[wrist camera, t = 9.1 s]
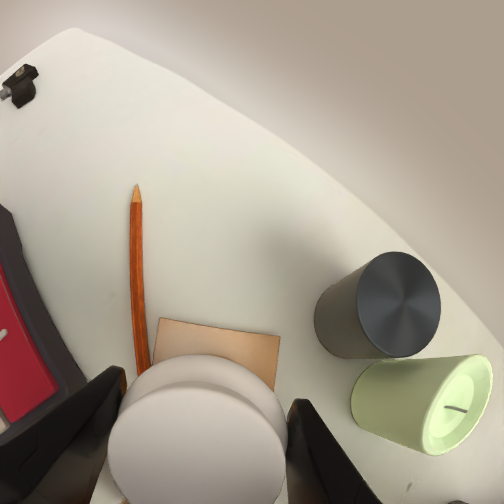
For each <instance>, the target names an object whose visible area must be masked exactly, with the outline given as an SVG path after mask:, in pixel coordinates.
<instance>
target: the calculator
mask: <svg viewBox="0 0 504 504" xmlns="http://www.w3.org/2000/svg"><path fill="white" fill-rule="evenodd" d="M21 251H22V245H21V242H20V239H19V236H18V233H17V230H16V227H15V224H14V221H13V218H12V215H11V213H10V212H9V211H8V210H7V209H6V208H4V207H3V206H2V205H1V204H0V446H1V445H2V444H4V443H6V442H8V441H9V440H11V439H13V438H14V437H16V436H18V435H19V434H21V433H22V432H23V431H25V430H26V429H28V428H29V427H30V426H32V425H33V424H34V423H37V421H38V420H40V419H41V418H42V417H44V416H45V415H46V414H48V413H49V412H50V411H52V410H53V409H54V408H56V407H57V406H58V405H60V404H61V403H62V402H64V401H65V400H66V399H68V398H69V397H70V396H72V395H73V394H74V393H76V392H77V391H78V390H80V389H81V388H82V387H84V386H85V385H86V384H88V382H87V380H86V379H85V377H84V376H83V374H82V372H81V371H80V369H79V368H78V366H77V365H76V363H75V361H74V360H73V358H72V356H71V355H70V353H69V351H68V350H67V348H66V346H65V345H64V343H63V341H62V339H61V338H60V336H59V334H58V332H57V330H56V328H55V327H54V325H53V323H52V321H51V319H50V317H49V315H48V313H47V311H46V309H45V307H44V305H43V303H42V301H41V299H40V296H39V294H38V292H37V290H36V288H35V285H34V283H33V281H32V278H31V276H30V274H29V271H28V269H27V266H26V264H25V261H24V259H23V256H22V253H21Z"/></svg>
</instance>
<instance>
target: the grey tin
mask: <svg viewBox="0 0 504 504" xmlns="http://www.w3.org/2000/svg"><path fill="white" fill-rule="evenodd" d="M440 314H441V302H440V295H439V291H438V287H437V285H436V282H435V280H434V278H433V276H432V275H431V273H430V271H429V270H428V269H427V268H426V266H425V265H424V264H423V263H422V262H420V261H419V260H418V259H416V258H415V257H413V256H411V255H409V254H406V253H403V252H387V253H384V254H381V255H379V256H377V257H375V258H374V259H372V260H371V261H369V262H368V263H366V264H365V265H363V266H362V267H360V268H359V269H357V270H356V271H354V272H353V273H351V274H350V275H348V276H347V277H345V278H344V279H342V280H340V281H339V282H337V283H336V284H334V285H333V286H331V287H330V288H328V289H327V290H326V291H325V292H324V293H323V294H322V296H321V297H320V299H319V301H318V303H317V305H316V309H315V314H314V325H315V330H316V333H317V336H318V338H319V340H320V342H321V343H322V345H323V346H324V347H325V348H326V349H327V350H328V351H329V352H330V353H332V354H333V355H335V356H338V357H341V358H345V359H379V358H403V357H409V356H412V355H414V354H417V353H418V352H420V351H421V350H422V349H424V348H425V347H426V346H427V345H428V344H429V342H430V341H431V340H432V338H433V337H434V335H435V333H436V330H437V328H438V324H439V320H440Z"/></svg>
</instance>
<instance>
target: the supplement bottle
mask: <svg viewBox="0 0 504 504" xmlns="http://www.w3.org/2000/svg"><path fill="white" fill-rule="evenodd" d="M287 446H288V428H287V422H286V418H285V415H284V412H283V410H282V407H281V405H280V403H279V401H278V399H277V398H276V396H275V395H274V393H273V392H272V391H271V389H270V388H269V387H268V386H267V385H266V384H265V383H264V382H263V381H262V380H261V379H260V378H259V377H258V376H257V375H256V374H254V373H253V372H251V371H250V370H249V369H247V368H245V367H244V366H242V365H240V364H238V363H236V362H234V361H231V360H229V359H227V358H224V357H221V356H217V355H210V354H192V355H183V356H178V357H174V358H170V359H167V360H164V361H162V362H160V363H158V364H156V365H154V366H152V367H150V368H149V369H147V370H146V371H145V372H143V373H142V374H141V375H140V376H139V377H138V378H137V379H136V380H135V381H134V382H133V383H132V385H131V386H130V387H129V389H128V390H127V392H126V393H125V395H124V397H123V399H122V401H121V404H120V407H119V411H118V416H117V420H116V422H115V424H114V426H113V428H112V430H111V433H110V436H109V441H108V454H107V455H108V463H109V468H110V471H111V474H112V477H113V479H114V482H115V484H116V486H117V487H118V489H119V490H120V492H121V493H122V495H123V496H124V497H125V499H126V500H127V501H128V502H129V503H130V504H273V503H274V501H275V500H276V498H277V497H278V495H279V493H280V491H281V489H282V486H283V482H284V478H285V471H286V462H285V455H286V451H287Z"/></svg>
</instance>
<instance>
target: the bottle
mask: <svg viewBox="0 0 504 504" xmlns="http://www.w3.org/2000/svg"><path fill="white" fill-rule="evenodd" d="M449 504H468V503H465V502H462V501H454V502H451V503H449Z"/></svg>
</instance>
